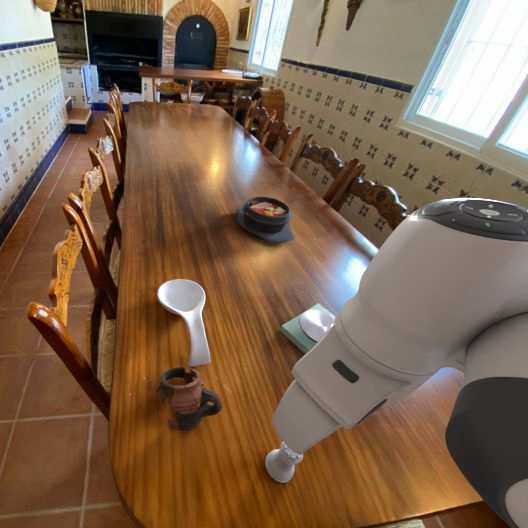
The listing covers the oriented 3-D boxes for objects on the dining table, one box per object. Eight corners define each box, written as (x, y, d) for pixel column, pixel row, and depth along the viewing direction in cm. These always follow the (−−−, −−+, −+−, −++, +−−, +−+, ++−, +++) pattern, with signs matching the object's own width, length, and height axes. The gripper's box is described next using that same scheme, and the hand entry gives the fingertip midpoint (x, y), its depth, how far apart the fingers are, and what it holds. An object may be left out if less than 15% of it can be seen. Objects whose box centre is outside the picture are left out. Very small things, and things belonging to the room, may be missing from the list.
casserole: (223, 213, 112) (227, 192, 107) (264, 207, 118) (270, 187, 113) (259, 251, 95) (266, 229, 89) (306, 242, 100) (315, 221, 95)
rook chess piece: (282, 448, 51) (297, 428, 45) (297, 477, 47) (316, 460, 42) (259, 456, 49) (272, 437, 44) (274, 488, 46) (289, 471, 41)
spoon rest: (153, 290, 78) (153, 270, 73) (195, 285, 80) (198, 265, 76) (173, 371, 60) (175, 351, 56) (227, 361, 63) (233, 341, 58)
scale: (376, 355, 67) (384, 345, 64) (340, 386, 60) (348, 377, 58) (315, 308, 77) (320, 298, 74) (279, 330, 70) (283, 321, 68)
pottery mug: (151, 431, 52) (147, 388, 50) (168, 398, 61) (165, 361, 59) (220, 442, 48) (218, 396, 47) (227, 406, 57) (226, 366, 56)
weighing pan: (354, 334, 66) (355, 332, 66) (327, 354, 62) (328, 353, 61) (316, 305, 72) (317, 304, 72) (289, 322, 68) (290, 320, 68)
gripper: (394, 294, 36) (346, 358, 45) (282, 372, 27) (249, 433, 36) (452, 330, 33) (387, 392, 41) (343, 435, 23) (289, 486, 32)
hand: (322, 412), depth 39 cm, fingers closed
